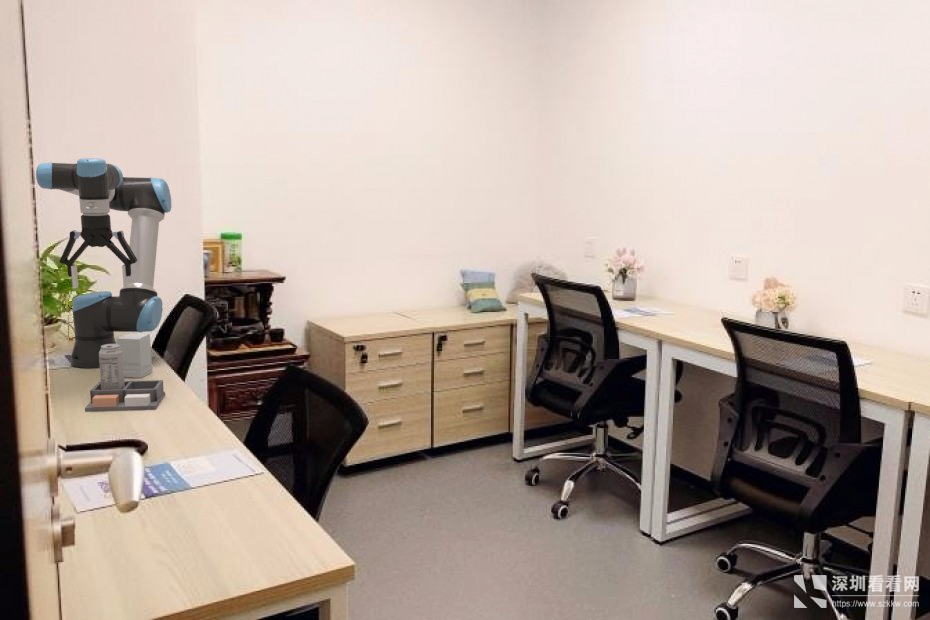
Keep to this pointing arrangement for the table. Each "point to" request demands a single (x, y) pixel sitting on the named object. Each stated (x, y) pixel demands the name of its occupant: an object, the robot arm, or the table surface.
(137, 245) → the robot arm
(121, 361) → the energy drink can
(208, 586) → the table surface
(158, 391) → the socket deck
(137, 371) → the supplement box
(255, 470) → the table surface
